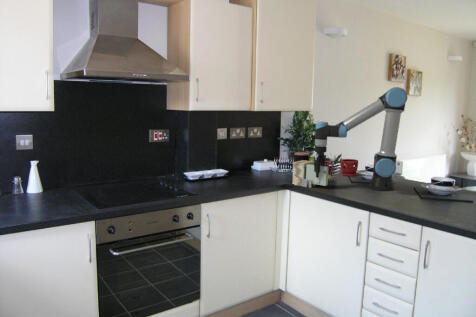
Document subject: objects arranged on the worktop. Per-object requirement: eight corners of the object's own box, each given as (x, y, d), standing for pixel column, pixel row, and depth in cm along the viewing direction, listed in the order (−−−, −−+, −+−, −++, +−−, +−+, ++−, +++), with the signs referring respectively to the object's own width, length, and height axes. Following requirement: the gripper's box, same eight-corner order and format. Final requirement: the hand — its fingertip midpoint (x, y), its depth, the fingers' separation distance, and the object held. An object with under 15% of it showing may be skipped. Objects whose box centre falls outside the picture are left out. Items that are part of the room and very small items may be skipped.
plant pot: (346, 173, 312) (347, 158, 310) (360, 175, 302) (361, 160, 300) (336, 174, 304) (337, 159, 302) (350, 177, 294) (351, 161, 292)
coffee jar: (309, 179, 284) (310, 154, 282) (294, 178, 284) (295, 154, 282) (307, 176, 295) (308, 152, 292) (292, 175, 295) (293, 152, 292)
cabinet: (313, 183, 270) (314, 161, 268) (303, 186, 258) (304, 163, 256) (302, 181, 275) (302, 160, 273) (291, 184, 264) (292, 162, 261)
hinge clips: (315, 186, 260) (315, 177, 259) (310, 187, 255) (311, 178, 254) (306, 184, 263) (307, 176, 262) (302, 186, 258) (302, 177, 258)
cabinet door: (327, 185, 252) (328, 166, 251) (324, 186, 249) (325, 167, 248) (307, 182, 261) (308, 164, 259) (305, 182, 258) (305, 164, 256)
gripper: (320, 144, 260) (318, 179, 263) (309, 146, 247) (307, 182, 250) (331, 145, 255) (329, 180, 258) (320, 147, 242) (318, 184, 246)
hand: (318, 181), depth 254 cm, fingers closed on cabinet door, 3 cm apart
